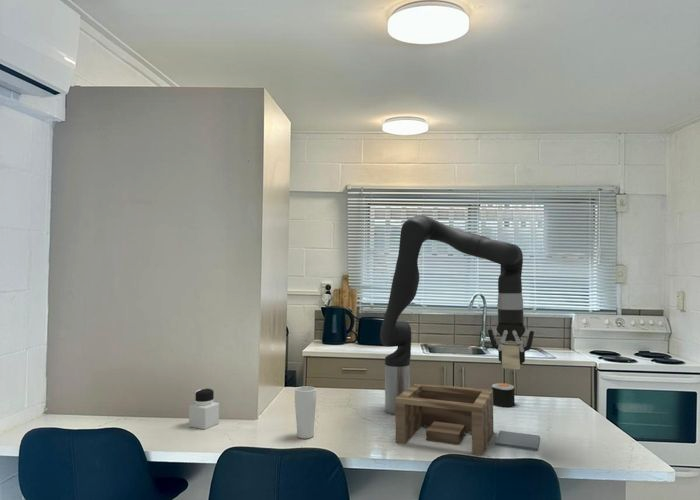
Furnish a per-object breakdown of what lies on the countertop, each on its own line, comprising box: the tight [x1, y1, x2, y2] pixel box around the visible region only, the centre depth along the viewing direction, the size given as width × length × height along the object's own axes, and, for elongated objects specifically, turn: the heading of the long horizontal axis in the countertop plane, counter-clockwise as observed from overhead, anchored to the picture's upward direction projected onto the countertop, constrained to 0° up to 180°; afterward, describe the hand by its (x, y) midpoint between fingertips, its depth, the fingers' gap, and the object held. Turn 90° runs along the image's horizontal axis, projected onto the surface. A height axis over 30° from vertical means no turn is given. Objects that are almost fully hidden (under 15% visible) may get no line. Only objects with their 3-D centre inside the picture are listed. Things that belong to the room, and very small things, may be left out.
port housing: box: [394, 382, 494, 457], centre depth 156 cm, size 22×26×14 cm
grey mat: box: [494, 430, 540, 452], centre depth 152 cm, size 12×12×1 cm
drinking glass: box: [294, 385, 317, 440], centre depth 157 cm, size 7×7×15 cm
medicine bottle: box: [188, 388, 220, 430], centre depth 168 cm, size 7×7×12 cm
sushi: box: [491, 382, 516, 409], centre depth 193 cm, size 8×8×8 cm
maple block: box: [501, 342, 522, 370], centre depth 152 cm, size 5×5×7 cm
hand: (511, 363), depth 152 cm, fingers closed on maple block, 5 cm apart
